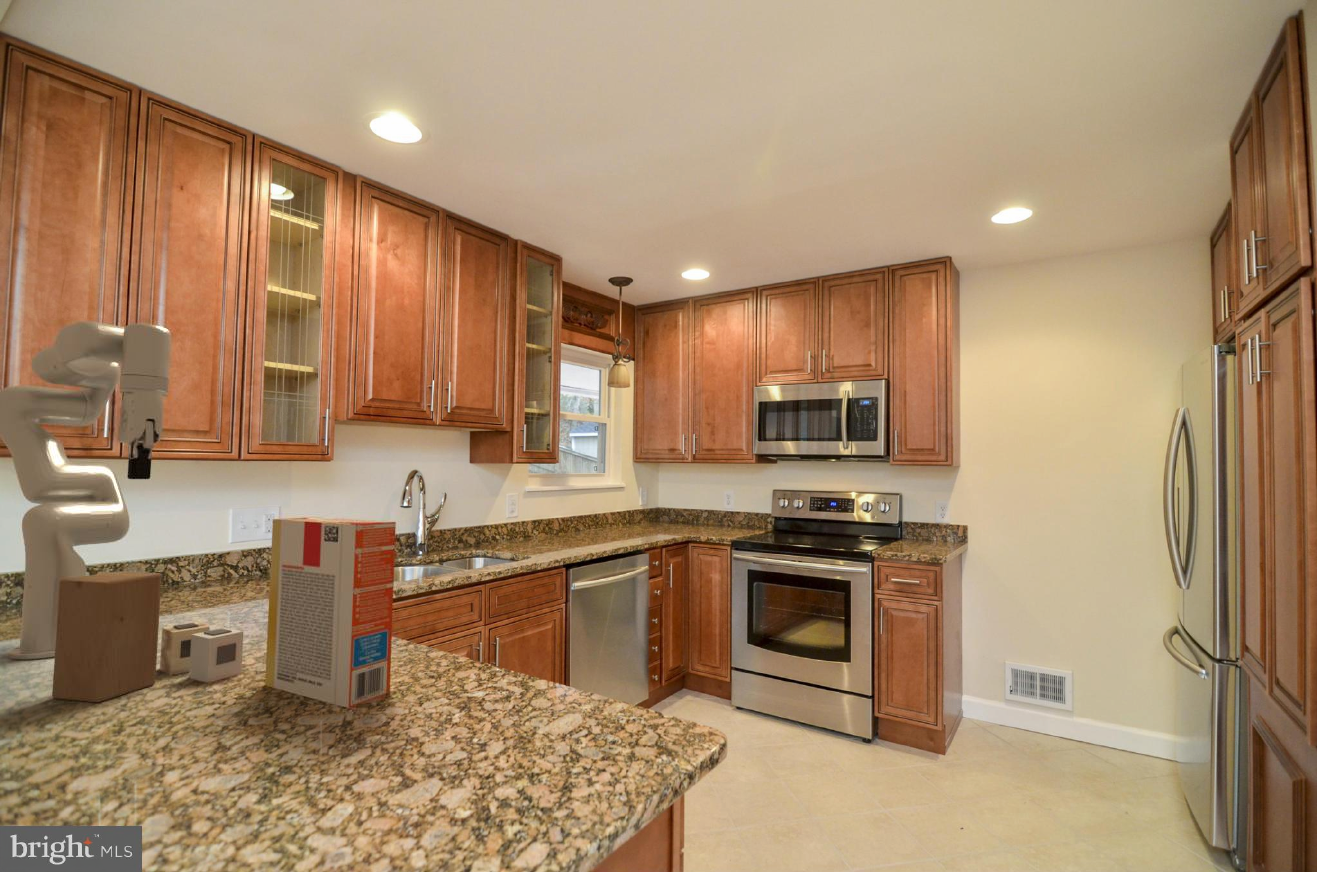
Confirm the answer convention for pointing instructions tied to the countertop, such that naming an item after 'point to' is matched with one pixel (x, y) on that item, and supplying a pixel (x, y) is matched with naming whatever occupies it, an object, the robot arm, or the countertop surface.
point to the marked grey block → (216, 654)
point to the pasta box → (331, 608)
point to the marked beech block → (178, 646)
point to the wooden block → (106, 635)
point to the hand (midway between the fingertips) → (138, 478)
